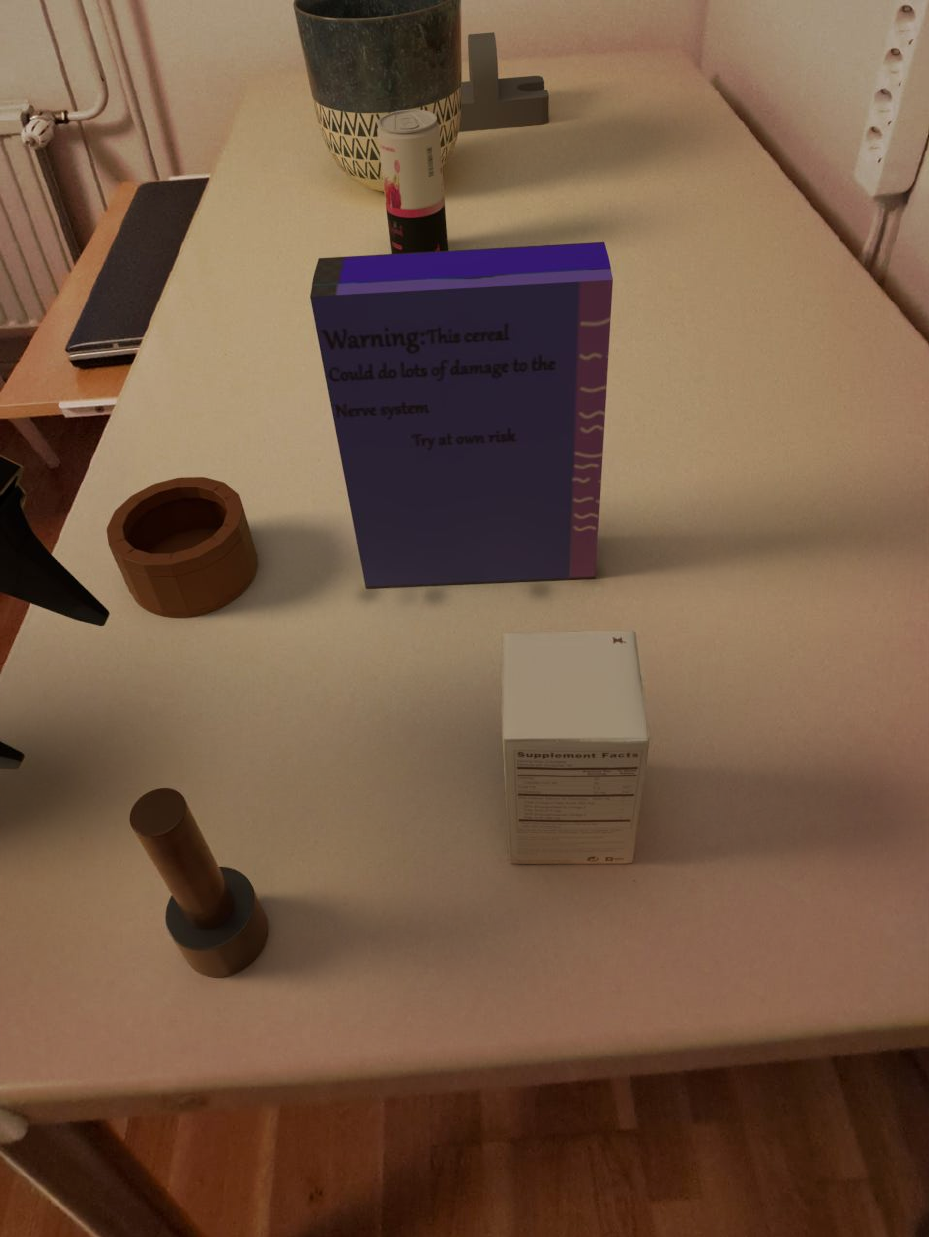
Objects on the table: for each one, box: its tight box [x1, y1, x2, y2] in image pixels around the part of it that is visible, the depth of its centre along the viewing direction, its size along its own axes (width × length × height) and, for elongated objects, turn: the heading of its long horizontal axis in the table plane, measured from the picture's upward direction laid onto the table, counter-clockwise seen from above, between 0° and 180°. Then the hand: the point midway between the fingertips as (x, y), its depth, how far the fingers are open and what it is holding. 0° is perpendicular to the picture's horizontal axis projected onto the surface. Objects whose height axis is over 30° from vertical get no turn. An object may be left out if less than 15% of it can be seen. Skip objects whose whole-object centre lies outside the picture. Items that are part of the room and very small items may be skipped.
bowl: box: [106, 476, 259, 618], centre depth 72 cm, size 10×10×6 cm
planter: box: [292, 0, 463, 192], centre depth 116 cm, size 20×20×21 cm
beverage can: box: [377, 109, 449, 254], centre depth 103 cm, size 7×6×15 cm
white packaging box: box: [500, 630, 650, 865], centre depth 52 cm, size 7×7×13 cm
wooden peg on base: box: [129, 787, 269, 978], centre depth 48 cm, size 5×5×13 cm
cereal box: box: [309, 241, 614, 589], centre depth 64 cm, size 17×5×24 cm, turn 90°
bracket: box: [459, 31, 550, 132], centre depth 135 cm, size 10×18×11 cm, turn 93°
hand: (67, 686), depth 47 cm, fingers open, 9 cm apart
